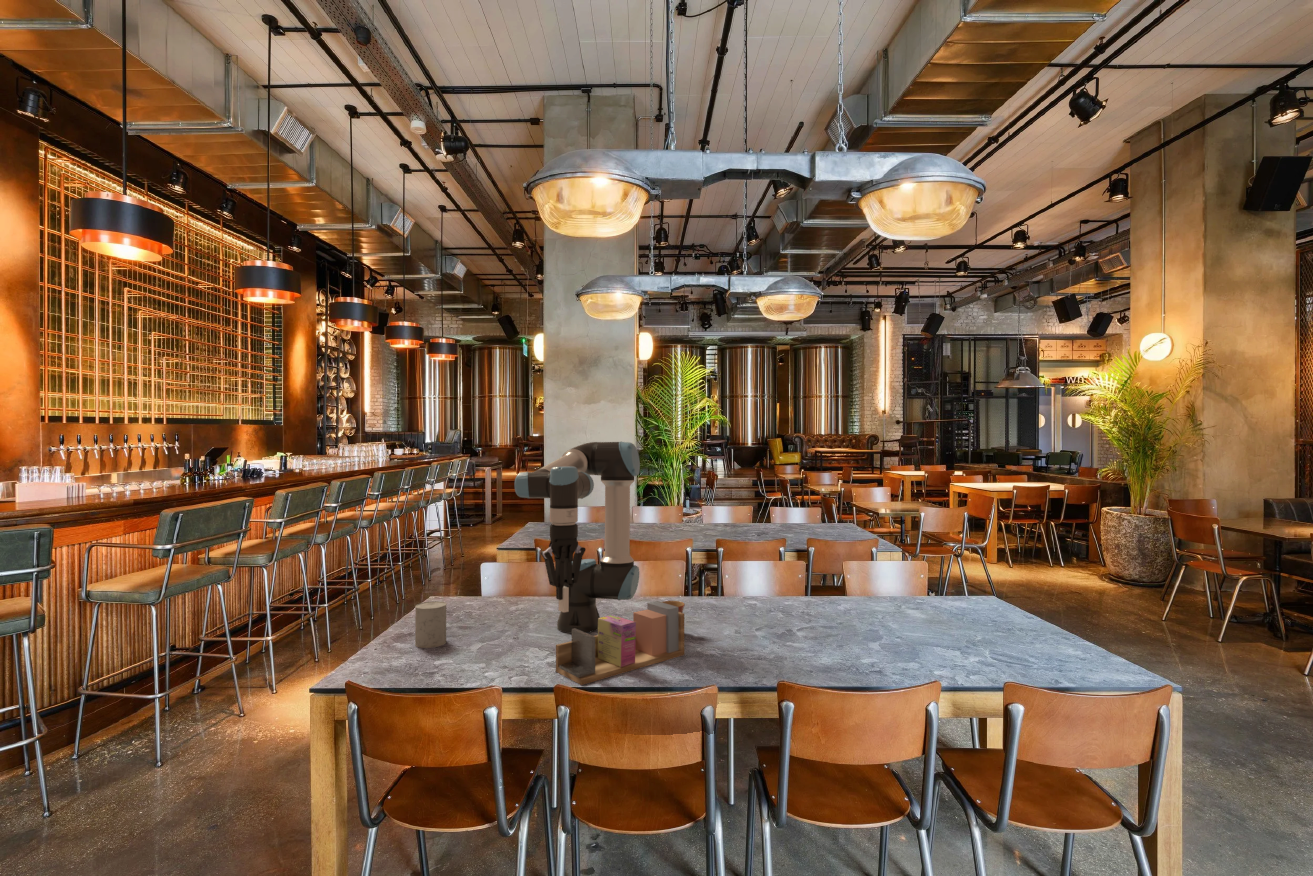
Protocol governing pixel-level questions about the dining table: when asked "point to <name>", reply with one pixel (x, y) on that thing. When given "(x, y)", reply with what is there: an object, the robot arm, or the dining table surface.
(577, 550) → the robot arm
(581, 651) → the bookend
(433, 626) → the grey stone cylinder
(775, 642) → the dining table surface
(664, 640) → the row books
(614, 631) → the box
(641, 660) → the wooden desk organizer
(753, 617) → the dining table surface
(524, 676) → the dining table surface
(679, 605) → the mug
